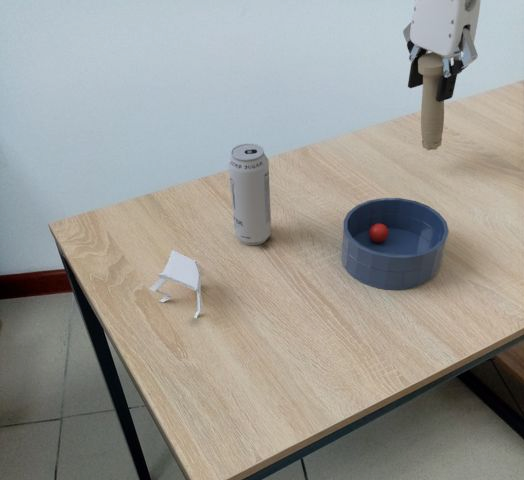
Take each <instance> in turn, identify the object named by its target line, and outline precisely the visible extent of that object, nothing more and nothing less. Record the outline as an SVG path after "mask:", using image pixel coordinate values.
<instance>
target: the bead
mask: <svg viewBox="0 0 524 480" xmlns="http://www.w3.org/2000/svg"><path fill="white" fill-rule="evenodd" d="M369 236H370V239H371V240H372V241H374V242H376V243H381V242H383V241H385V240H386V239H387V237H388V229H387V227H386V226H385V225H384V224H380V223H378V224H375V225H373V226H372V227H371V228H370V231H369Z"/></svg>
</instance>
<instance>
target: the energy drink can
mask: <svg viewBox="0 0 524 480" xmlns="http://www.w3.org/2000/svg"><path fill="white" fill-rule="evenodd" d="M230 152H231V153H230V154H231V155H230V158H229V160H228V163H227V165H228V176H229V187H230V195H231V206H232V215H233V216H232V217H233V226H234V235H235V236H236V238H237V239H238V240H239V241H240V242H241V244H244V245H246V246H259V245H262V244H264V243H265V242H266V241H267V240H268V239H269V237H270V236H271V234H272V216H271V215H272V214H271V189H270V170H269V169H270V166H269V164H270V163H269V158H268V157H267V155H266V153H265V149H264V147H262V146H261V145H259V144H256V143H243V144H239V145H237V146H235V147H233V148H232V149H231V151H230Z"/></svg>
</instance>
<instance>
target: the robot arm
mask: <svg viewBox="0 0 524 480" xmlns="http://www.w3.org/2000/svg"><path fill="white" fill-rule="evenodd" d="M481 1H482V0H415V1H414V5H413V10H412V16H411V22H410V23H408V25H407V26H406V27H405V28H404V29H403V30H402V33H403V36H404V39H405V42H406V48H407V50H408V53H409V56H408V60H409V61H408V62H410V69H409V76H408V80H407V81H408V82H407V88H409V89H413V88H417V87H420V86H423V75H422V74H420V73H419V71H418V59H419V58H420V57H421V56H422V55H424V54H426V53H429V52H430V53H431V52H433V53H436V54H438V55H441V56H442V58H443V72H444V75H442V76H440V79H439V84H438V89H437V95H436V101H438V102H441V101H444V102H445V101H447V100H450V99H452V98H453V97H454V92H455V87H456V81H457V78H458V75H460V74H461V73H463V72H462V71H464V70H465V69H466V68H467V67H468V66H469V65H471V64H472V63H474V61H476V60H477V59H478V52H477V49H476V46H475V44H474V43H475V40H476V33H477V29H478V28H477V27H478V23H479V16H480V9H481ZM462 54H463V55H462ZM452 61H453V63H452Z"/></svg>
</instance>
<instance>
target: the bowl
mask: <svg viewBox="0 0 524 480" xmlns="http://www.w3.org/2000/svg"><path fill="white" fill-rule="evenodd" d="M342 222H343V223H342V234H341V235H342V236H341V253H340V261H341V264H342V266H343V268H344V269H345V271H346V272H347V273H348V274H349V275H350V276H351V277H352V278H354V279H355V280H357V281H358V282H360V283H362V284H364V285H367V286H369V287H372V288H376V289H382V290H389V291H390V290H391V291H402V290H410V289H415V288H418V287H420V286H422V285H425V284H426V283H428V282H430V281H431V280H432V279H433V278H434V277H435V276H436V275H437V274H438V272H439V270H440V267H441V264H442V260H443V257H444V253H445V248H446V246H447V245H446V244H447V241H448V236H449V234H450V233H449V232H450V231H449V227H448V223H447V220H446V219H445V218H444V217H443V215H442V214H441V213H440V212H438V211H437V210H435V209H434V208H432V207H431V206H429V205H427V204H424V203H422V202H419V201H417V200H412V199H407V198H401V197H381V198H375V199H370V200H367V201H364V202H361V203H359V204H357V205H355V207H353V208H352V209H350V210H349V211H348V212H347V214H346V215H345V217H344V219H343V221H342ZM378 223H380V224H384V225H385V226H386V227H387V229H388V237H387V239H386V240H385V241H383V242H381V243H376V242H374V241H372V240H371V239H370V236H369V231H370V228H371V227H372V226H373V225H375V224H378Z"/></svg>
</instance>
